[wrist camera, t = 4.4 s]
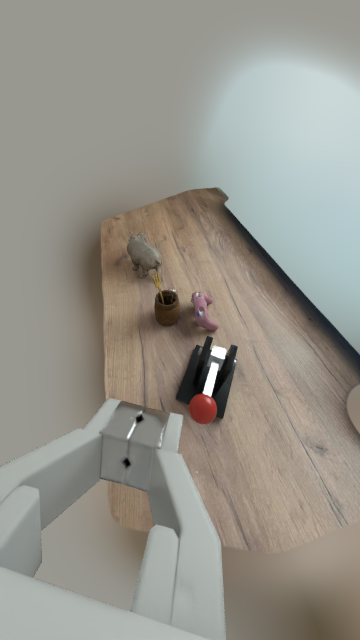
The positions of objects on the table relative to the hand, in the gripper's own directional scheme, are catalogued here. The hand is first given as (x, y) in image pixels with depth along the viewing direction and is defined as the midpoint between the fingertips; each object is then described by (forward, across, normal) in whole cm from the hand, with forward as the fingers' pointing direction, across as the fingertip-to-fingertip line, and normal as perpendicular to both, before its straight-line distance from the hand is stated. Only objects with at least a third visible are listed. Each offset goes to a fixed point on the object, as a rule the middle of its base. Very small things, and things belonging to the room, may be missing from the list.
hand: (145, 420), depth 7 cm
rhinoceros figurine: (+53, -18, +5) cm, 56 cm away
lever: (+18, +4, -9) cm, 21 cm away
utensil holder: (+40, -6, -6) cm, 41 cm away
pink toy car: (+41, +2, -4) cm, 42 cm away
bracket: (+29, +5, -14) cm, 33 cm away
